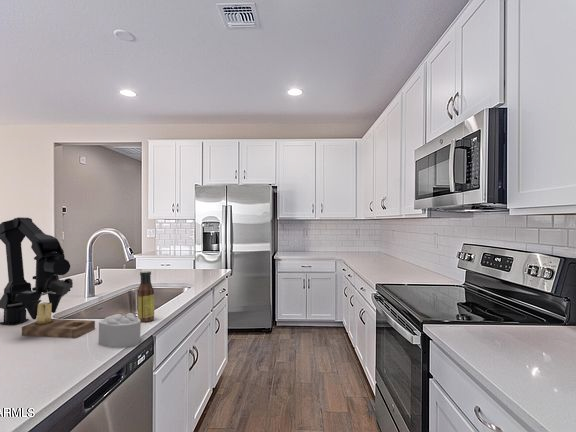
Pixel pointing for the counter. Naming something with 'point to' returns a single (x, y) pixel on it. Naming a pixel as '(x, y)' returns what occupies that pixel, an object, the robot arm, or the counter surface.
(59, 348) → the counter surface
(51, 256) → the robot arm
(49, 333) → the mount board
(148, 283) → the sauce bottle
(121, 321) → the lumpy-topped squat cylinder
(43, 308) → the pin
